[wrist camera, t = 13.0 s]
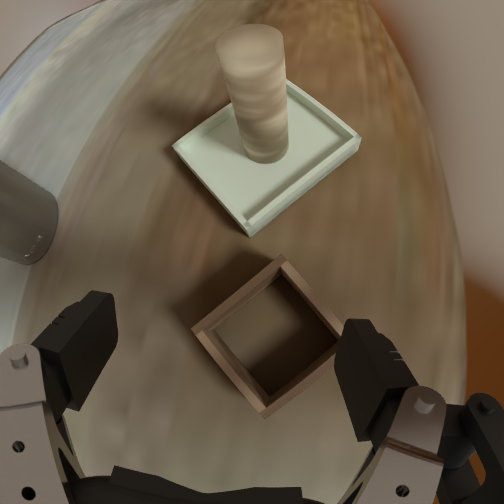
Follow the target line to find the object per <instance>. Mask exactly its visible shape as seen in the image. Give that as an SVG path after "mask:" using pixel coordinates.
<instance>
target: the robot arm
mask: <svg viewBox="0 0 504 504" xmlns="http://www.w3.org/2000/svg"><path fill="white" fill-rule="evenodd" d="M57 220H58V207H57V202H56V200H55V197H54V196H53V195H52V194H51V193H49V192H48V191H46V190H45V189H43V188H42V187H40V186H39V185H37V184H36V183H34V182H32V181H31V180H30V179H28V178H27V177H25V176H23V175H22V174H20V173H19V172H17V171H16V170H14V169H13V168H11V167H10V166H8V165H7V164H5V163H4V162H2V161H1V160H0V257H2V258H5V259H8V260H11V261H14V262H18V263H21V264H25V265H29V264H32V263H34V262H36V261H37V260H39V259H40V258H41V257H42V256H43V254H44V253H45V252H46V250H47V249H48V247H49V245H50V243H51V242H52V239H53V236H54V234H55V230H56V227H57ZM117 341H118V328H117V320H116V311H115V302H114V297H113V295H112V294H111V293H105V292H99V291H93V290H92V291H90V292H89V293H88V294H87V295H86V296H85V297H84V298H83V299H82V300H81V301H80V302H76V303H74V304H72V305H70V306H68V307H66V308H65V309H64V310H63V311H62V312H61V313H60V314H59V315H58V317H56V318H55V319H54V320H53V321H52V324H51V323H50V324H49V325H48V327H47V328H46V329H45V330H44V331H43V332H42V333H41V334H40V335H39V336H38V337H37V338H36V339H35V340H34V341H33V343H32V344H31V345H29V344H16V345H13V346H10V347H8V348H7V349H5V350H4V351H3V352H2V353H1V355H0V504H324V503H321V502H319V501H315V500H311V499H307V498H302V490H301V487H280V488H268V487H253V488H247V489H241V490H234V491H227V492H218V493H201V492H198V491H195V490H192V489H189V488H187V487H184V486H181V485H179V484H176V483H174V482H171V481H169V480H166V479H164V478H162V477H159V476H156V475H151V474H147V473H142V472H138V471H134V470H130V469H126V468H122V467H119V466H115V465H114V468H113V471H112V474H111V476H92V477H85V475H84V473H83V471H82V469H81V467H80V464H79V462H78V459H77V456H76V453H75V450H74V447H73V444H72V441H71V438H70V435H69V431H68V428H67V424H66V421H65V418H64V415H63V412H64V411H65V409H66V407H67V408H69V409H72V410H75V411H78V412H79V411H80V409H81V407H82V405H83V403H84V402H85V400H86V398H87V396H88V394H89V393H90V391H91V389H92V387H93V385H94V384H95V382H96V380H97V378H98V377H99V375H100V373H101V372H102V370H103V368H104V366H105V365H106V363H107V361H108V360H109V358H110V356H111V354H112V353H113V351H114V349H115V348H116V345H117ZM334 369H335V373H336V376H337V379H338V382H339V385H340V388H341V391H342V394H343V397H344V400H345V403H346V406H347V409H348V412H349V415H350V419H351V422H352V425H353V428H354V431H355V434H356V437H357V441H358V442H362V441H370V440H371V442H372V445H373V446H372V448H371V449H370V451H369V452H368V454H367V456H366V458H365V460H364V462H363V463H362V465H361V467H360V469H359V471H358V472H357V474H356V476H355V478H354V479H353V481H352V483H351V484H350V486H349V488H348V489H347V491H346V492H345V494H344V495H343V497H342V498H341V499H340V501H339V502H338V503H337V504H432V503H433V500H434V497H435V494H437V497H438V500H439V503H440V504H504V410H503V409H502V407H501V405H500V404H499V402H498V401H497V400H496V399H494V398H493V397H492V396H490V395H488V394H485V393H475V394H473V395H471V396H470V398H469V399H468V401H467V402H466V404H465V405H464V406H463V405H452V404H446V402H445V400H444V398H443V397H442V395H441V394H439V393H438V392H437V391H435V390H434V389H432V388H429V387H426V386H419V384H418V383H417V381H416V380H415V378H414V376H413V375H412V373H411V371H410V370H409V368H408V367H407V365H406V363H405V362H404V361H402V357H401V355H400V354H399V353H398V351H397V349H396V348H395V346H394V345H393V343H392V342H391V341H390V340H389V339H388V338H386V337H385V336H384V335H383V334H381V333H378V332H377V331H376V329H375V327H374V326H373V324H372V323H371V321H370V320H369V319H347V320H346V322H345V325H344V328H343V331H342V335H341V338H340V341H339V344H338V348H337V351H336V354H335V359H334ZM475 451H477V454H478V455H479V458H480V460H481V462H482V464H483V466H484V468H485V471H486V478H485V481H484V483H483V484H482V486H480V484H479V481H478V479H477V477H476V474H475V472H474V470H473V468H472V466H471V463H470V461H469V458H470V457H471V455H472V454H473V453H474V452H475Z"/></svg>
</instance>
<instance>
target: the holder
mask: <svg viewBox="0 0 504 504" xmlns="http://www.w3.org/2000/svg"><path fill="white" fill-rule="evenodd" d="M281 274H282V275H283V277H284V278H285V279H286V280H287V281H288V282H289V283H290V285H291V286H292V287H293V288H294V289H295V290H296V292H297V293H298V294H299V295H300V296H301V297H302V299H303V300H304V301H305V302H306V303H307V304H308V306H309V307H310V308H311V309H312V310H313V311H314V313H315V314H316V315H317V316H318V317H319V318H320V320H321V321H322V322H323V323H324V324H325V325H326V327H327V328H328V329H329V330H330V331H331V332H332V334H333V335H334V336H335V337H336V338H337V339H338V341H337V342H336V343H335V344H334V345H333V346H332V347H331V348H329V349H328V350H327V351H326V352H325V353H324V354H322V355H321V356H320V357H319V358H318V359H316V360H315V361H314V362H313V363H312V364H310V365H309V366H308V367H307V368H306V369H304V370H303V371H302V372H301V373H299V374H298V375H297V376H296V377H294V378H293V379H292V380H291V381H289V382H288V383H287V384H285V385H284V386H283V387H281V388H280V389H279V390H278V391H276V392H275V393H274V394H272V395H271V396H269V395H268V394H267V393H266V392H265V391H264V390H263V388H262V387H261V386H260V385H259V384H258V383H257V381H256V380H255V379H254V378H253V377H252V376H251V374H250V373H249V372H248V371H247V370H246V368H245V367H244V366H243V365H242V364H241V362H240V361H239V360H238V359H237V358H236V356H235V355H234V354H233V353H232V351H231V350H230V349H229V348H228V346H227V345H226V344H225V343H224V341H223V340H222V339H221V338H220V336H219V335H218V334H217V333H216V331H215V329H216V328H217V327H218V326H220V325H221V324H222V323H223V322H225V321H226V320H227V319H228V318H230V317H231V316H232V315H233V314H234V313H236V312H237V311H238V310H239V309H241V308H242V307H243V306H244V305H245V304H247V303H248V302H249V301H250V300H251V299H253V298H254V297H255V296H256V295H258V294H259V293H260V292H261V291H262V290H264V289H265V288H266V287H267V286H268V285H270V284H271V283H272V282H273V281H274V280H275V279H277V278H278V277H279V276H280V275H281ZM343 328H344V326H343V325H342V323H341V322H340V321H339V320H338V319H337V317H336V316H335V315H334V314H333V313H332V312H331V311H330V309H329V308H328V307H327V306H326V305H325V304H324V302H323V301H322V300H321V299H320V298H319V297H318V295H317V294H316V293H315V292H314V291H313V290H312V289H311V287H310V286H309V285H308V284H307V283H306V282H305V280H304V279H303V278H302V277H301V276H300V275H299V274H298V272H297V271H296V270H295V269H294V268H293V267H292V266H291V264H290V263H289V262H288V261H287V260H286V259H285V258H284V256H283V255H282V254H281V255H279V256H278V257H277V258H276V259H275V260H273V261H272V262H271V263H270V264H269V265H267V266H266V267H265V268H264V269H263V270H261V271H260V272H259V273H258V274H257V275H255V276H254V277H253V278H252V279H251V280H249V281H248V282H247V283H246V284H245V285H243V286H242V287H241V288H240V289H239V290H237V291H236V292H235V293H234V294H233V295H231V296H230V297H229V298H228V299H226V300H225V301H224V302H223V303H222V304H220V305H219V306H218V307H217V308H216V309H214V310H213V311H212V312H211V313H209V314H208V315H207V316H206V317H204V318H203V319H202V320H201V321H200V322H198V323H197V324H196V325H195V326H193V327H192V328H191V330H192V331H193V333H194V334H195V335H196V337H197V338H198V339H199V341H200V342H201V343H202V344H203V346H204V347H205V348H206V350H207V351H208V352H209V353H210V355H211V356H212V357H213V358H214V360H215V361H216V362H217V364H218V365H219V366H220V367H221V368H222V370H223V371H224V372H225V373H226V375H227V376H228V377H229V378H230V379H231V381H232V382H233V383H234V384H235V385H236V387H237V388H238V389H239V390H240V391H241V393H242V394H243V395H244V396H245V397H246V398H247V400H248V401H249V402H250V403H251V404H252V405H253V406H254V408H255V409H256V410H257V411H258V412H259V413H260V414H261V415H262V417H263V418H264V419H266V418H267V417H268V416H270V415H271V414H273V413H274V412H275V411H277V410H278V409H280V408H281V407H282V406H284V405H285V404H286V403H288V402H289V401H290V400H292V399H293V398H294V397H296V396H297V395H298V394H299V393H301V392H302V391H303V390H305V389H306V388H307V387H308V386H310V385H311V384H312V383H313V382H315V381H316V380H317V379H318V378H320V377H321V376H322V375H323V374H324V373H326V372H327V371H328V370H329V369H330V368H332V367H333V366H334V359H335V354H336V351H337V348H338V344H339V341H340V338H341V335H342V331H343Z"/></svg>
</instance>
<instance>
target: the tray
mask: <svg viewBox="0 0 504 504" xmlns="http://www.w3.org/2000/svg"><path fill="white" fill-rule="evenodd" d="M286 92H287V113H288V139H289V148H288V151H287V153H286V155H285V156H284V157H283V158H282V159H281V160H279V161H277V162H275V163H271V164H260V163H256V162H254V161H252V160H251V159H250V158H249V157H248V156H247V155H246V153H245V150H244V146H243V143H242V139H241V135H240V132H239V128H238V125H237V121H236V117H235V114H234V110H233V107H232V103H230V104H228V105H227V106H225V107H224V108H222V109H221V110H220V111H218V112H217V113H215V114H214V115H212V116H211V117H209V118H208V119H207V120H205V121H204V122H202V123H201V124H200V125H198V126H197V127H196V128H194V129H193V130H191V131H190V132H189V133H187V134H186V135H185V136H183V137H182V138H181V139H179V140H178V141H177V142H176V143H174V144H173V145H172V147H173V148H174V150H175V151H176V153H177V154H178V156H179V157H180V158H181V160H182V161H183V162H184V163H185V164H186V165H187V166H188V168H189V169H190V170H191V171H192V172H193V173H194V174H195V176H196V177H197V178H198V179H199V180H200V181H201V182H202V183H203V185H204V186H205V187H206V188H207V189H208V190H209V191H210V193H211V194H212V195H213V196H214V197H215V198H216V199H217V201H218V202H219V203H220V204H221V205H222V206H223V207H224V209H225V210H226V211H227V212H228V213H229V214H230V215H231V217H232V218H233V219H234V220H235V221H236V222H237V224H238V225H239V226H240V227H241V228H242V229H243V230H244V232H245V233H246V234H247V235H248V236H249V237H250V238H251V237H252V236H253V235H254V234H255V233H257V232H258V231H259V230H260V229H262V228H263V227H264V226H265V225H266V224H268V223H269V222H270V221H271V220H273V219H274V218H275V217H276V216H277V215H279V214H280V213H281V212H282V211H283V210H285V209H286V208H287V207H288V206H290V205H291V204H292V203H293V202H295V201H296V200H297V199H298V198H299V197H301V196H302V195H303V194H304V193H306V192H307V191H308V190H309V189H311V188H312V187H313V186H314V185H315V184H317V183H318V182H319V181H320V180H322V179H323V178H324V177H325V176H327V175H328V174H329V173H330V172H332V171H333V170H334V169H335V168H336V167H338V166H339V165H340V164H341V163H343V162H344V161H345V160H346V159H348V158H349V157H350V156H351V155H353V154H354V153H355V152H356V151H358V148H359V145H360V142H361V139H362V137H361V136H359V135H358V134H357V133H356V132H355V131H354V130H352V129H351V128H350V127H349V126H348V125H346V124H345V123H344V122H343V121H342V120H340V119H339V118H338V117H337V116H335V115H334V114H333V113H332V112H330V111H329V110H328V109H327V108H325V107H324V106H323V105H321V104H320V103H319V102H318V101H316V100H315V99H314V98H312V97H311V96H310V95H308V94H307V93H305V92H304V91H303V90H301V89H300V88H299V87H297V86H296V85H294V84H293V83H291V82H290V81H289V80H287V79H286Z"/></svg>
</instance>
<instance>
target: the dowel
mask: <svg viewBox="0 0 504 504" xmlns="http://www.w3.org/2000/svg"><path fill="white" fill-rule="evenodd" d="M215 47H216V51H217V54H218V58H219V61H220V64H221V68H222V71H223V75H224V78H225V82H226V85H227V89H228V92H229V96H230V100H231V103H232V107H233V110H234V114H235V117H236V121H237V125H238V128H239V132H240V135H241V139H242V143H243V146H244V150H245V153H246V155H247V156H248V157H249V158H250V159H251V160H252V161H254V162H256V163H260V164H271V163H275V162H277V161H279V160H281V159H282V158H283V157H284V156H285V155H286V153H287V151H288V148H289V139H288V113H287V92H286V74H285V57H284V42H283V36H282V34H281V32H280V31H278V30H277V29H276V28H274V27H271V26H268V25H263V24H246V25H241V26H237V27H234V28H232V29H229V30H228V31H226V32H224V33H223V34H222V35H221V36H220V37H219V38H218V39H217V41H216V44H215Z"/></svg>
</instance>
